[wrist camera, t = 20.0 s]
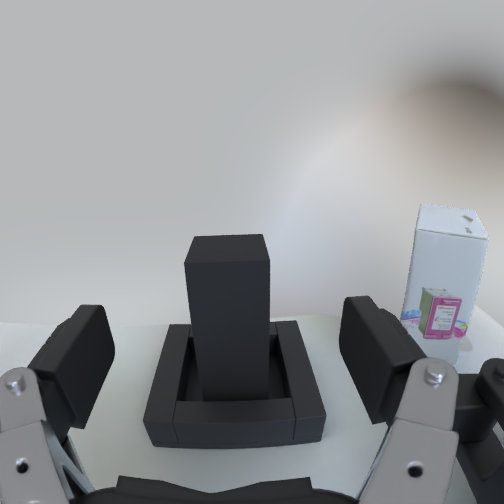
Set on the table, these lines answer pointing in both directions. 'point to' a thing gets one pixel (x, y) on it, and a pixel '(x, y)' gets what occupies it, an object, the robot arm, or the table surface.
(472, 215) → the ink box
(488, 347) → the table surface
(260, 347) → the block
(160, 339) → the table surface
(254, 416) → the base pad
